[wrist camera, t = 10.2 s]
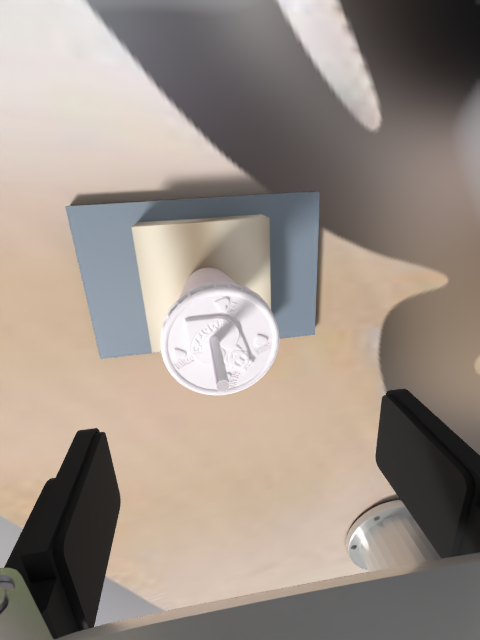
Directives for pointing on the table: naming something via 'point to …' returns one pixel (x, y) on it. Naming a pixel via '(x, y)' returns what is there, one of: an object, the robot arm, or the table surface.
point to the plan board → (117, 219)
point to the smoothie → (218, 335)
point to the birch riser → (198, 259)
